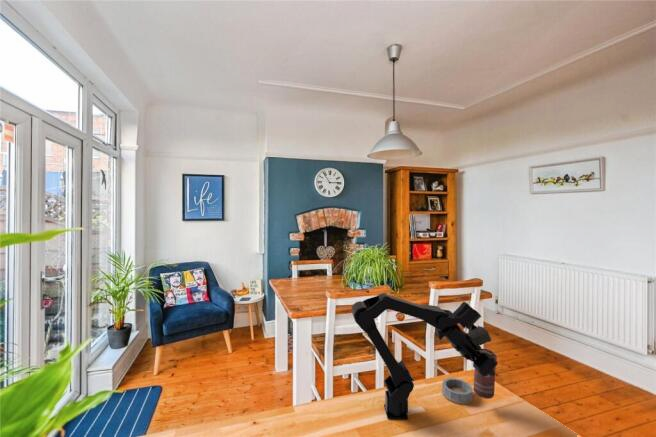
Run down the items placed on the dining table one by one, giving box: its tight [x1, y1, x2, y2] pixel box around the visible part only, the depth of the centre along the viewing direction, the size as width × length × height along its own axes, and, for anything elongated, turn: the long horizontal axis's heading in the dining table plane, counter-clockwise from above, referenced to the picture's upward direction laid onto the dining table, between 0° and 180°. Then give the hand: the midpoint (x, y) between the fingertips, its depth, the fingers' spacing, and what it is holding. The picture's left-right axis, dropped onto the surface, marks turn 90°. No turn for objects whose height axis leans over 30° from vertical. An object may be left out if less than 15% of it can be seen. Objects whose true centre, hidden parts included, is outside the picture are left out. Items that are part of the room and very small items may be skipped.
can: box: [472, 348, 498, 400], centre depth 99 cm, size 6×6×14 cm
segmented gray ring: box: [441, 377, 473, 406], centre depth 106 cm, size 10×10×4 cm
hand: (488, 369), depth 99 cm, fingers closed on can, 5 cm apart
